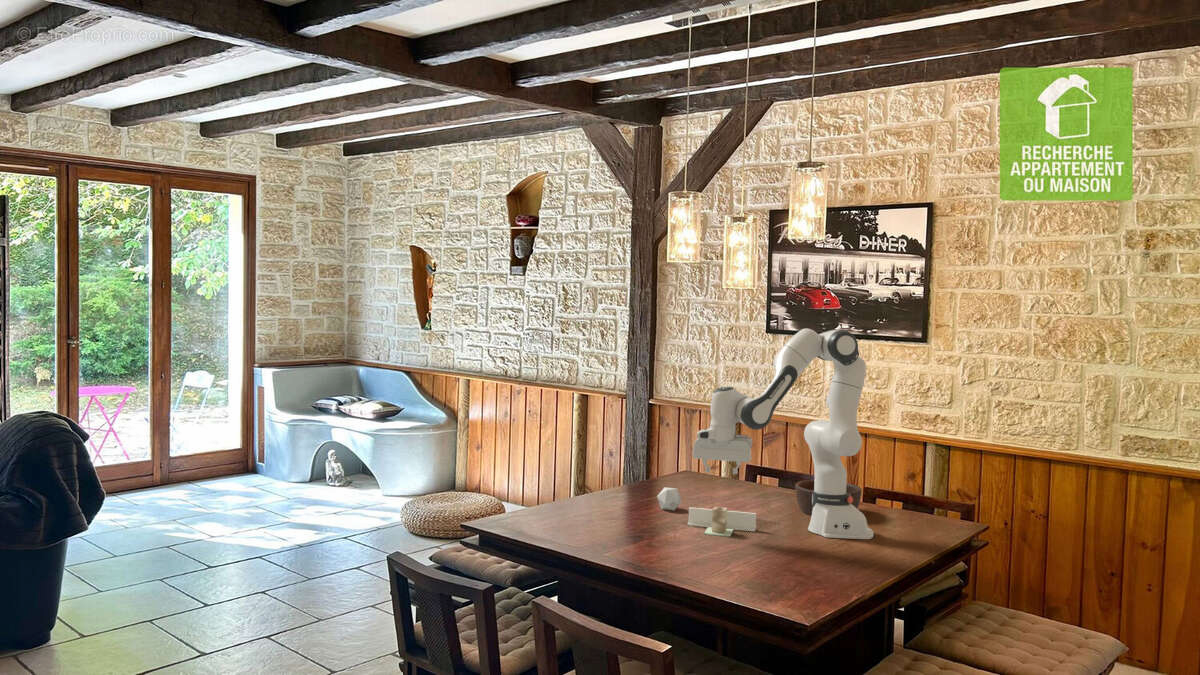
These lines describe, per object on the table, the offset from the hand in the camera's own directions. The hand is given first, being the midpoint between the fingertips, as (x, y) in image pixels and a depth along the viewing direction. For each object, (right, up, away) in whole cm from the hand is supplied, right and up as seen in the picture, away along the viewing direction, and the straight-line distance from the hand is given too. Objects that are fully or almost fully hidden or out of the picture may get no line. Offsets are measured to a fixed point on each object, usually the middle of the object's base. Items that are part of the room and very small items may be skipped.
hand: (721, 472), depth 316 cm
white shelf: (+1, -21, +8) cm, 22 cm away
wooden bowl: (+46, -21, +35) cm, 62 cm away
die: (-16, -19, +33) cm, 42 cm away
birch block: (-1, -21, +1) cm, 21 cm away
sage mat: (-1, -21, +1) cm, 21 cm away
